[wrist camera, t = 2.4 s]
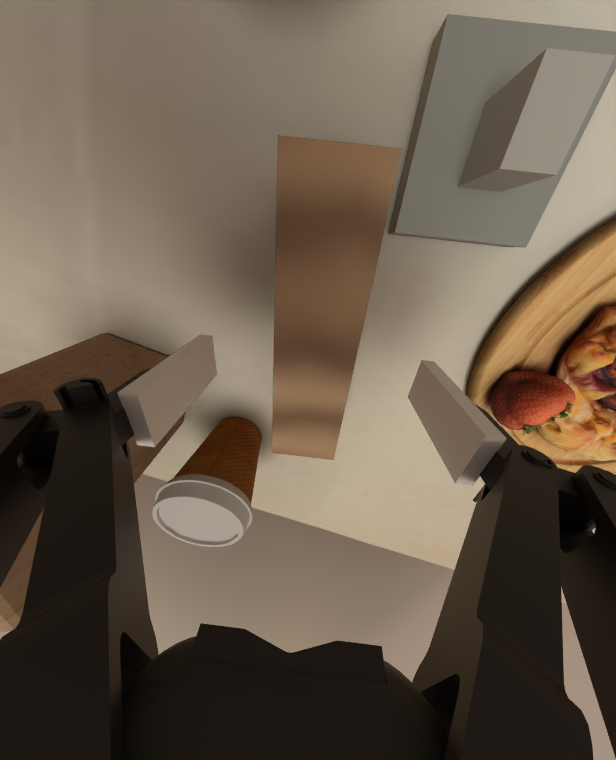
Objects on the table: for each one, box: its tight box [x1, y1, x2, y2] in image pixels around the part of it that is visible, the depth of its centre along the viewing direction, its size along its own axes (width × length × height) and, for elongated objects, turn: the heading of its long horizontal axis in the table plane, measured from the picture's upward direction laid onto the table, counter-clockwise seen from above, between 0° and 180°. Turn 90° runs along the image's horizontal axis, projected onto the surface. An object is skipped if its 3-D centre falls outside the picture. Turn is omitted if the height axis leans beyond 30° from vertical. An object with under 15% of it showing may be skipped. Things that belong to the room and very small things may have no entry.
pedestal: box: [389, 14, 616, 247], centre depth 14 cm, size 10×10×6 cm
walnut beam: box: [272, 135, 402, 460], centre depth 20 cm, size 22×6×8 cm, turn 175°
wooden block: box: [0, 334, 184, 632], centre depth 20 cm, size 10×10×20 cm
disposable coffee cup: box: [153, 417, 261, 547], centre depth 27 cm, size 10×10×12 cm
